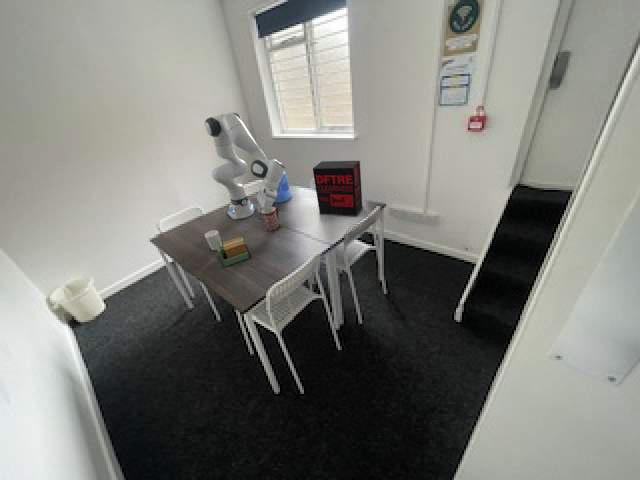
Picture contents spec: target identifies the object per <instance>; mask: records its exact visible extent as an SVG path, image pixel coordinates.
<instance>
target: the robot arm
mask: <svg viewBox="0 0 640 480" xmlns="http://www.w3.org/2000/svg"><path fill="white" fill-rule="evenodd" d="M205 119H206V120H205V121H204V126H205V130H206V132H207V134H208V135H209V136H210V137H212V139H213V143H214V147H215V152H216V154H217V156H218V158H220V159H222V160H226V163H223V164H220V165H218V166H216V167H214V168H213V169H212V171H211V177H212V179H213V180H214V182H216V183H218V184H221V185H222V186H224V187H225V188H226V190H227V192H228V194H229V197H230V198H229V199H230V205H229V206H228V212H227V215H228V216H229V217H230V218H231V219H232V220H238V219H239V220H241V219H245V218H249V217H251V216H252V215H253V214H254V213H255V210H256V209H255V207H254V204H253V203H252V202H251V200H250V199H249V197H248V194H247V193H246V189H245V187H244V185H243V184H242V183H240V182H236V181H235V179H237V178H239V177H241V176H243V175H245V174H246V173H247V172H248V170H249V169H248V165H247V162H245V161H244V160H243V159H241V158H239V157H238V155H237V154H236V152H235V148H234V146H236V147H237V148H238V149H240V150H242V151H245V152H247V153H248V154H250V155H251V156H252V157H253V159H254V160H253V161H252V163H251V165H250V172H251V174H252V175H253V176H254V177H256V178H259V179H262V182H261V185H260V186H259V187H260V188H259V191H258V193H257V195H256V199H257V201H258V206H257V212H258V213H260V214H262V210H263V209H264V210H267V211H269V210H270V208H271V207H273V205H274V203H275V202H274V198H275V199H276V197H277V189H278V185H279V182H280V181H281V179H282V177H283V174H284V172H285V171H286V170H285V169H286V167H285V166H284V164H283V163H282V162H280V161H279V160H277V159H269V158H268V157H267V155H266V153H264V151H263V150H262V148H261V147H260V146H259V145H258V143H257V141H256V140H255V139H254V138H253V136H252V134H251V133H250V131H249V130H248V129H247V127H246V126H245V124H244V122H243V118H242V116H241V115H240V114H239V113H237V112H228V113H223V114H219V115H216V116H210V117H208V118H205Z"/></svg>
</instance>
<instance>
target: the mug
mask: <svg viewBox="0 0 640 480" xmlns="http://www.w3.org/2000/svg"><path fill="white" fill-rule="evenodd" d="M261 214H262V217H263V219H264V222H265V225H266V228H267V230H268V231H270V232H274V231H277V230H278V229H279V228H280V227H279V214H280V213H279V209H278V207H275V206H271V208H270V210H269V211H267V210H264V209H263V210H262V212H261Z"/></svg>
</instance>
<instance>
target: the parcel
mask: <svg viewBox="0 0 640 480" xmlns="http://www.w3.org/2000/svg"><path fill="white" fill-rule="evenodd" d="M222 245H223V246H222V248H224V250H225V253H226V254H225V255H226V259H228V258H231V257H234V256H237V255H240V254H242V253H245V252H248V250H247V246H246V244H245V241H244V238H243V236H239V237H236V238H233V239H229V240H227V241H223V242H222Z"/></svg>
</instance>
